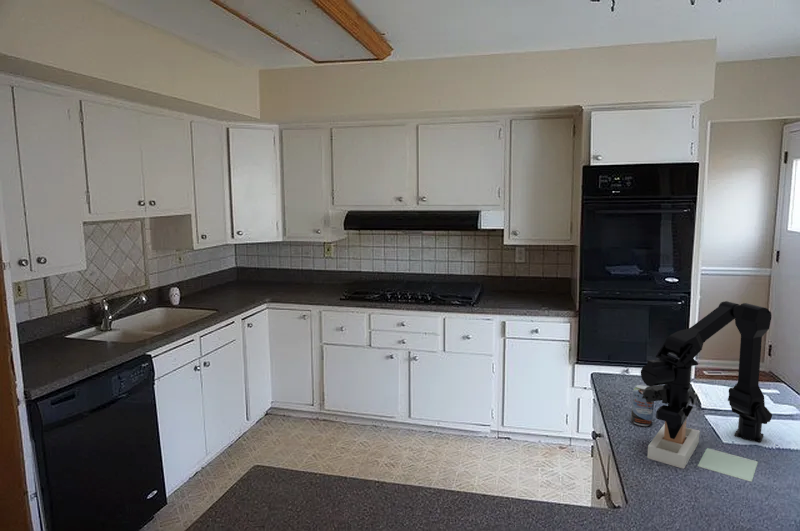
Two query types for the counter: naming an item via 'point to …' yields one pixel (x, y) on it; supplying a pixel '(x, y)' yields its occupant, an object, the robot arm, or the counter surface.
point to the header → (673, 448)
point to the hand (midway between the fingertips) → (674, 434)
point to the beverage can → (641, 407)
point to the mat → (728, 464)
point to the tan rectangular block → (680, 436)
